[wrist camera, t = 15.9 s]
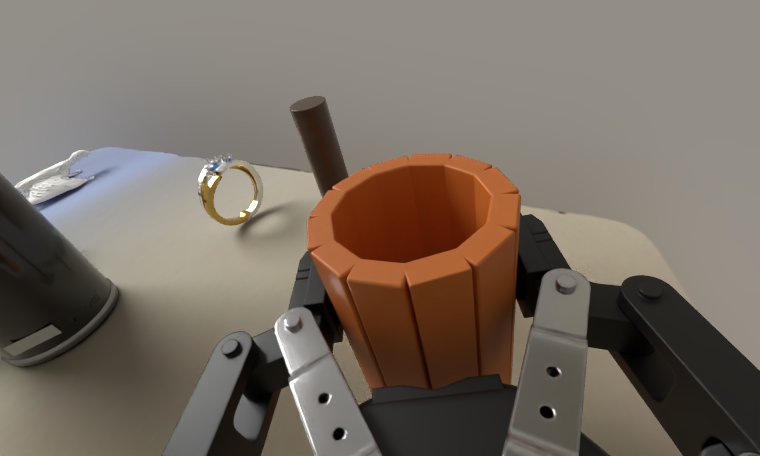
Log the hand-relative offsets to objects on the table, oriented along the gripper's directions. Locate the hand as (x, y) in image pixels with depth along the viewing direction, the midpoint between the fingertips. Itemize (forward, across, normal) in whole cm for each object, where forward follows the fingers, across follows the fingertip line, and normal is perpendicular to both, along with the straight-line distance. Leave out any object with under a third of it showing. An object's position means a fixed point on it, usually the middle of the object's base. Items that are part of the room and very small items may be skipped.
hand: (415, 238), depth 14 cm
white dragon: (+40, +60, +12) cm, 73 cm away
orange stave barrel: (-2, 0, +6) cm, 7 cm away
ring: (+22, +19, +12) cm, 31 cm away
